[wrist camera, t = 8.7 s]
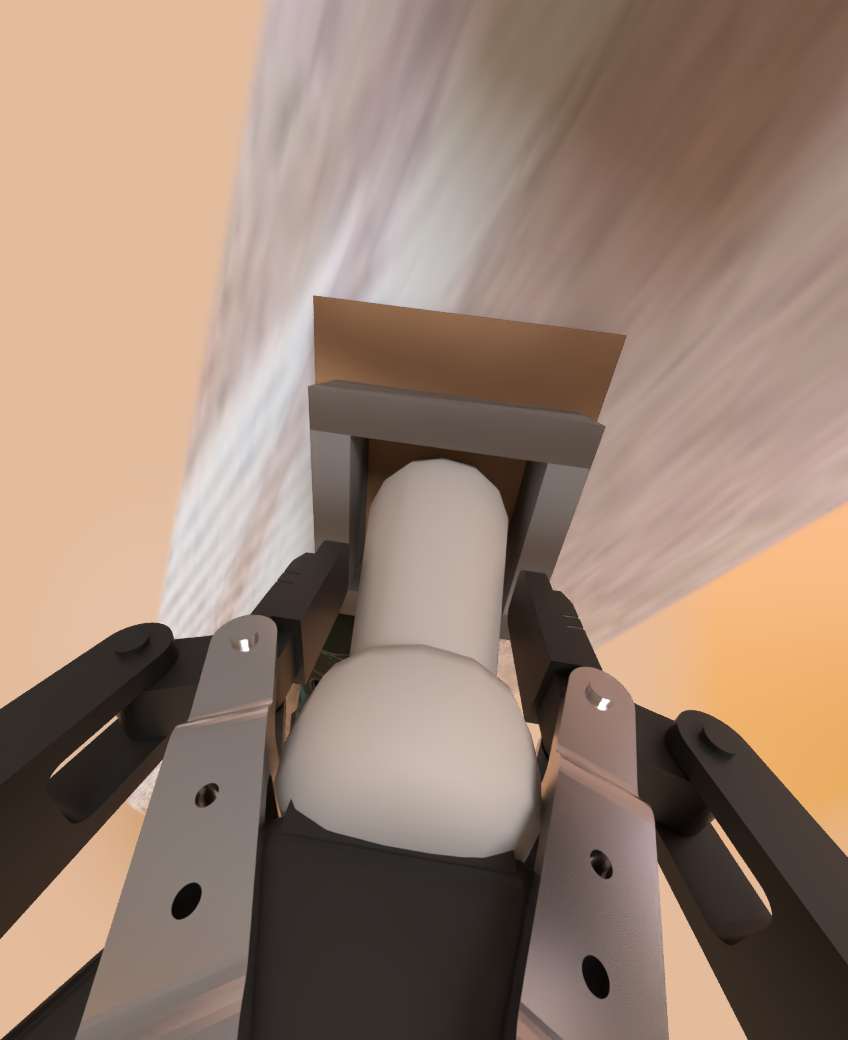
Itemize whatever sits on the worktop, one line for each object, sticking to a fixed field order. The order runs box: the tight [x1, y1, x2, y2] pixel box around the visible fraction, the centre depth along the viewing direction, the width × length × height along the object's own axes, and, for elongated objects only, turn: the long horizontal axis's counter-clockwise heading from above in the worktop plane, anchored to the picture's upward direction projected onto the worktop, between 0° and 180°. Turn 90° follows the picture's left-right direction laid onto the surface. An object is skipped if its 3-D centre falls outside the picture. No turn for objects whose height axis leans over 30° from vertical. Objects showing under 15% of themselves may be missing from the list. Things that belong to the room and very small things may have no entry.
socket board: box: [308, 296, 626, 640], centre depth 15 cm, size 16×12×4 cm
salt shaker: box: [273, 457, 542, 863], centre depth 10 cm, size 6×6×13 cm
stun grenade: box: [290, 613, 355, 731], centre depth 22 cm, size 6×6×14 cm
